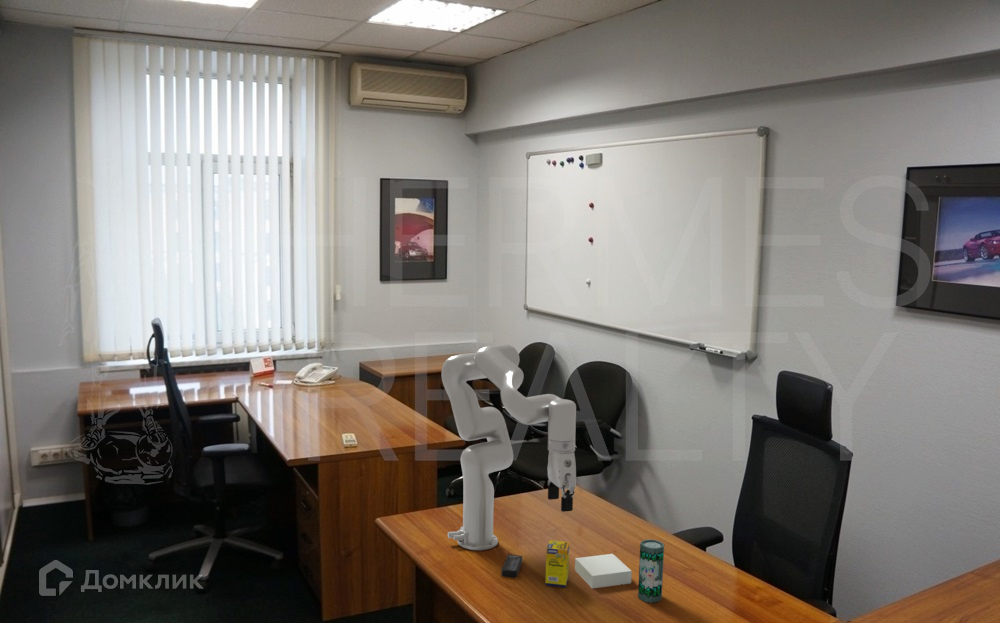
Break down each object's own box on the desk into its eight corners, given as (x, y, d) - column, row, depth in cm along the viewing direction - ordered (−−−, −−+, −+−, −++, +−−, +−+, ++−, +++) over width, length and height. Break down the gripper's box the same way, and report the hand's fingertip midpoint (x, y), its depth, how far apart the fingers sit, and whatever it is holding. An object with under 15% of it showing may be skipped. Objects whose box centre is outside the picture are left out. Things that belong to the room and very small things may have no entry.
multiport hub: (501, 577, 218) (501, 570, 218) (507, 561, 229) (508, 554, 229) (516, 579, 217) (516, 571, 217) (522, 563, 228) (522, 555, 228)
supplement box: (566, 588, 212) (567, 550, 211) (544, 585, 213) (546, 547, 212) (568, 578, 218) (570, 541, 216) (547, 576, 219) (549, 539, 218)
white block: (592, 589, 212) (592, 575, 212) (574, 571, 223) (575, 558, 223) (631, 584, 216) (631, 570, 215) (612, 566, 227) (612, 553, 227)
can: (636, 600, 206) (638, 546, 204) (640, 590, 211) (642, 538, 210) (659, 604, 204) (662, 550, 202) (662, 594, 209) (665, 541, 208)
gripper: (586, 452, 204) (585, 514, 206) (562, 435, 221) (560, 493, 222) (560, 454, 202) (559, 517, 204) (537, 437, 218) (536, 495, 220)
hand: (559, 504), depth 213 cm, fingers open, 9 cm apart
